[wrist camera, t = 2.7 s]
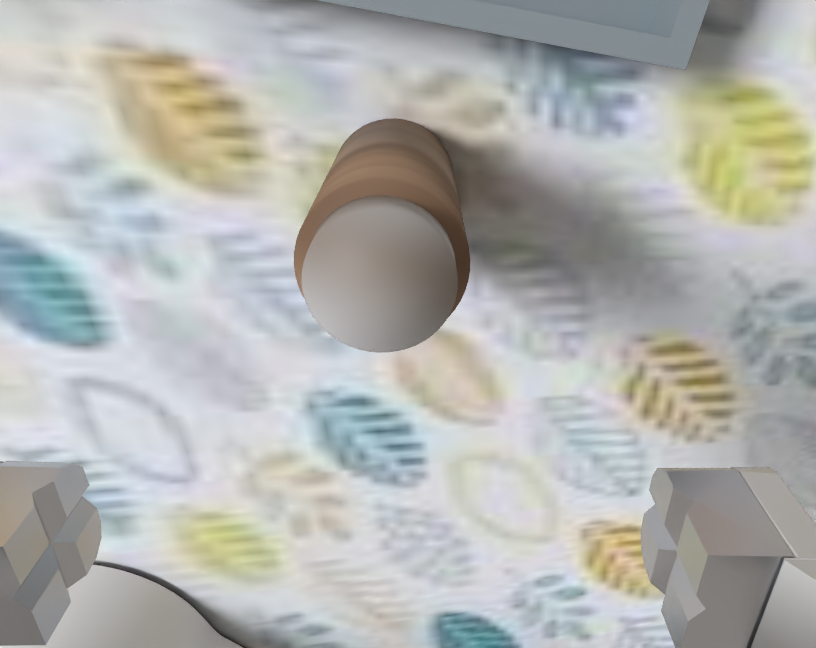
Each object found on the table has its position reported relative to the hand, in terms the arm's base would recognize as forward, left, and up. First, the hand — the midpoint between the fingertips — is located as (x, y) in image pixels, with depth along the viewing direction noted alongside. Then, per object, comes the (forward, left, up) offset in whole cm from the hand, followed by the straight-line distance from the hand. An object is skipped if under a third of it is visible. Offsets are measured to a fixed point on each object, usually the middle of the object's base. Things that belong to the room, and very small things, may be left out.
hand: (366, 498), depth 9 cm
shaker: (0, 0, -18) cm, 18 cm away
